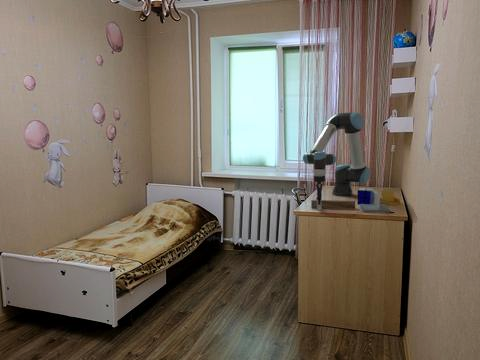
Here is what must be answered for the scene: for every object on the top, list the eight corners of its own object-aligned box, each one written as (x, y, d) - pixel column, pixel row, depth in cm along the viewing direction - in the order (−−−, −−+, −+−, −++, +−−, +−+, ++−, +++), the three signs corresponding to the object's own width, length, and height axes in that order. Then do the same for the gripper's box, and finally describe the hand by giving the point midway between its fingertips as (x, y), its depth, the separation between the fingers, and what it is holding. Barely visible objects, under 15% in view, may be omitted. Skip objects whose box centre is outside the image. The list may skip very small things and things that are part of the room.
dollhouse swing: (387, 205, 271) (387, 192, 270) (379, 202, 280) (380, 189, 279) (401, 204, 273) (401, 191, 272) (393, 202, 283) (393, 189, 281)
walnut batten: (311, 207, 270) (311, 199, 269) (354, 208, 264) (354, 200, 264) (311, 208, 266) (311, 200, 266) (355, 209, 261) (355, 201, 260)
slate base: (360, 206, 269) (360, 204, 269) (385, 206, 266) (385, 204, 266) (363, 212, 251) (363, 209, 251) (390, 212, 249) (390, 210, 249)
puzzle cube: (357, 204, 275) (357, 190, 274) (359, 201, 285) (359, 187, 283) (372, 205, 271) (373, 190, 270) (374, 202, 280) (374, 188, 279)
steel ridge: (370, 204, 268) (370, 189, 266) (374, 204, 267) (375, 189, 266) (374, 209, 250) (374, 194, 249) (379, 210, 250) (380, 194, 248)
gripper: (313, 173, 277) (313, 203, 280) (313, 177, 252) (313, 211, 255) (324, 173, 275) (324, 203, 278) (326, 177, 251) (325, 211, 254)
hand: (318, 207), depth 267 cm, fingers open, 13 cm apart
